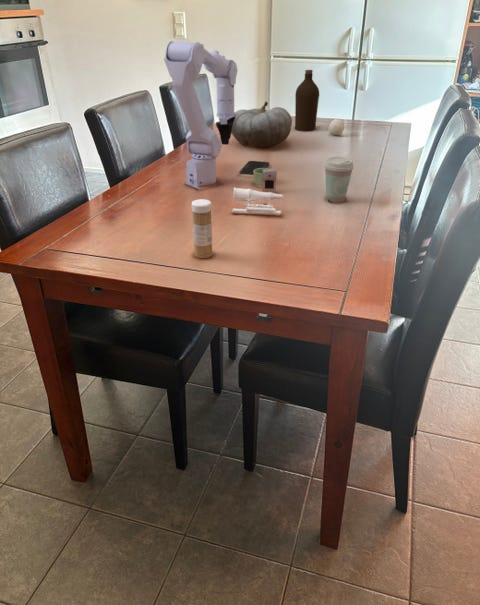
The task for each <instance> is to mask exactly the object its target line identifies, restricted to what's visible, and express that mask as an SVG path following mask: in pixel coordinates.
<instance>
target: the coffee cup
mask: <svg viewBox="0 0 480 605" xmlns="http://www.w3.org/2000/svg"><path fill="white" fill-rule="evenodd" d="M323 166H324V169H325V171H324V172H325V173H324V175H325V198H326V199H327V201H328V202H329V203H334V204H340V203H344V202H346V198H347V194H348V189H349V186H350V180H351V178H352V173H353V170H354V168H355V167H354V163H353V160H352V159H351V158H348V157H341V156H334V157H329V158H327V159H326V161H325V163H324V165H323Z"/></svg>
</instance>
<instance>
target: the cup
mask: <svg viewBox="0 0 480 605" xmlns="http://www.w3.org/2000/svg"><path fill="white" fill-rule="evenodd" d="M263 169H269V168H268V167H267V168H258V169H255V170H254V171H253V175H252V177H253V178H252V179H253V180H252V182H253V184H255V185H258V186H263Z"/></svg>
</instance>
